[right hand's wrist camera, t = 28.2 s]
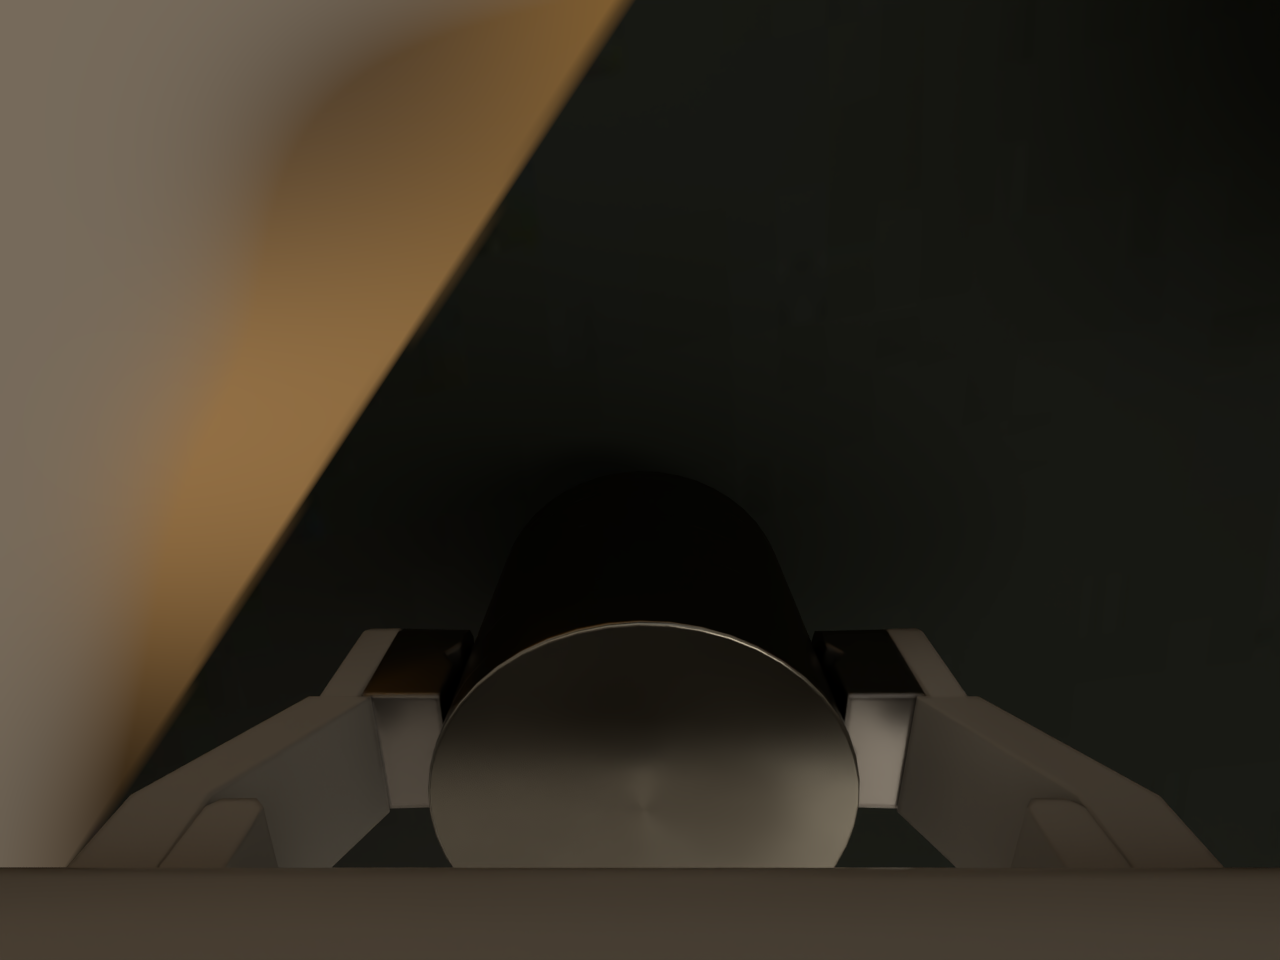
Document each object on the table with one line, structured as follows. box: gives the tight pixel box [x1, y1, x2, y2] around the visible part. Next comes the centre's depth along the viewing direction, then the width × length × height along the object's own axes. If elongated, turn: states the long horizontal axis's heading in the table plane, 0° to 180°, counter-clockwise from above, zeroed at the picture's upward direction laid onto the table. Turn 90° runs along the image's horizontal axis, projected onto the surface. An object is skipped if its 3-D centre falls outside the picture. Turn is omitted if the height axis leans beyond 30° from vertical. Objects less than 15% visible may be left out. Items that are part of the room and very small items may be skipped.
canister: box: [428, 471, 860, 868], centre depth 10 cm, size 5×5×5 cm
